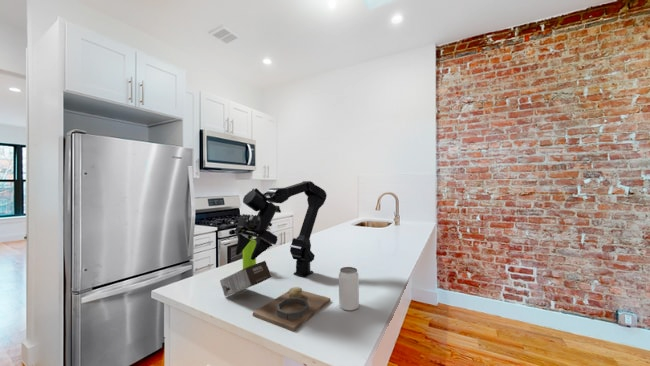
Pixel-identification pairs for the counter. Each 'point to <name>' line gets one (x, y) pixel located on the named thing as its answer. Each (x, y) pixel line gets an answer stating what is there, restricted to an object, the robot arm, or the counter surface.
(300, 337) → the counter surface
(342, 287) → the can
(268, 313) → the carrier board
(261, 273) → the coffee box
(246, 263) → the soap dispenser
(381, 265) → the counter surface
